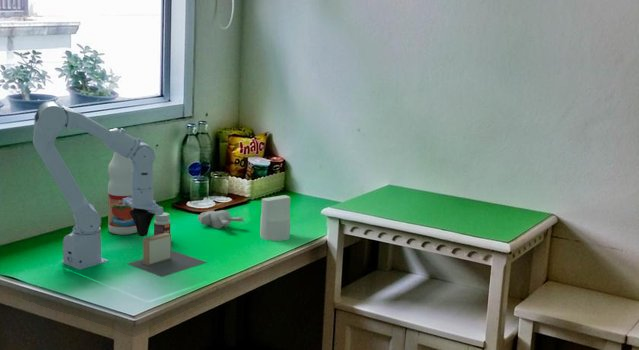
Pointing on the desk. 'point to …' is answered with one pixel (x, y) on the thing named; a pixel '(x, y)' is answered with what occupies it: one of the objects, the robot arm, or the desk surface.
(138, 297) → the desk surface
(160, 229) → the pill bottle
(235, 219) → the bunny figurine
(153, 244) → the block
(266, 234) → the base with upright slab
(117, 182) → the fruit juice
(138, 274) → the desk surface
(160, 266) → the mat
